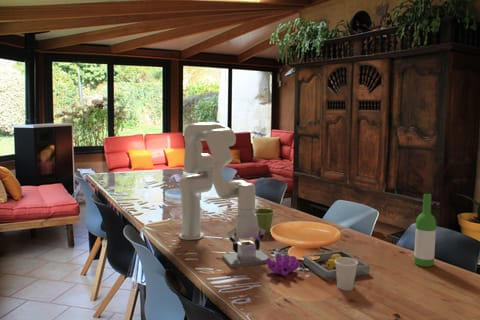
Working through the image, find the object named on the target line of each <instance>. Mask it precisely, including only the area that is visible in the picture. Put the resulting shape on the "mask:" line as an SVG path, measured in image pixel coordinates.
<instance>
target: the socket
mask: <svg viewBox="0 0 480 320" xmlns="http://www.w3.org/2000/svg"><path fill="white" fill-rule="evenodd" d="M237 244H238V252H237V256H238V257H239V258H240V259H241V260H248V259H256V251H257V250H256V245H255V242H253V241H252V240H244V241H243V240H242V241H238V242H237Z"/></svg>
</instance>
